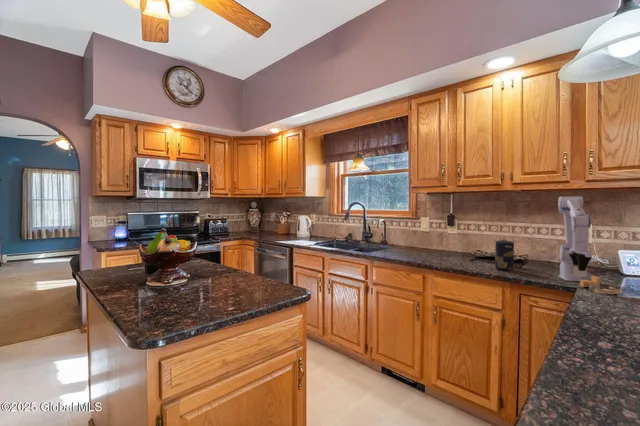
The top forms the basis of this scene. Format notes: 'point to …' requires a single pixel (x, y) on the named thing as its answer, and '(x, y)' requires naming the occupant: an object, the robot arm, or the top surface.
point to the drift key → (586, 283)
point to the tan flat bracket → (605, 290)
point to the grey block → (577, 271)
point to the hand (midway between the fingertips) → (579, 269)
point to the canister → (504, 255)
